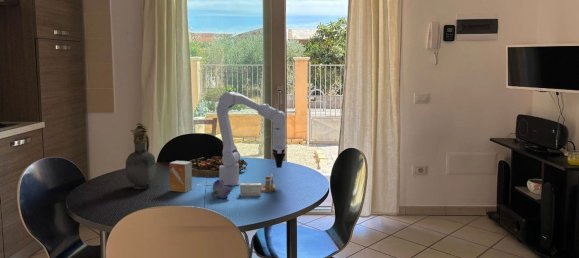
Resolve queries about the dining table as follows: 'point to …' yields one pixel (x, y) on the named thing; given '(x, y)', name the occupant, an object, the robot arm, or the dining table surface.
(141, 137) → the pitcher
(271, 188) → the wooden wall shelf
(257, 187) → the gray rectangular block
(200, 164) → the food dish
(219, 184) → the flower
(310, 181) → the dining table surface
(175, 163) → the small box
